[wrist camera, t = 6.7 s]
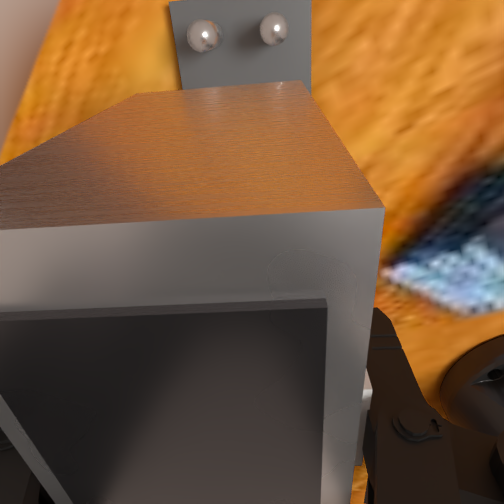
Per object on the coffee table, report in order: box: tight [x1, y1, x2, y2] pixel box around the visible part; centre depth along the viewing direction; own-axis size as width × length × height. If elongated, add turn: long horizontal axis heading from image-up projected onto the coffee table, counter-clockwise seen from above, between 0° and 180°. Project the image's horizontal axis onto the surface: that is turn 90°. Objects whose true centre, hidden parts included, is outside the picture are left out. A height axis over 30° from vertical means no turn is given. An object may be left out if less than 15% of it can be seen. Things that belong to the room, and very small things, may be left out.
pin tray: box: [169, 0, 311, 95], centre depth 24 cm, size 19×8×5 cm, turn 5°
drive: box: [0, 80, 385, 504], centre depth 10 cm, size 12×5×9 cm, turn 5°
